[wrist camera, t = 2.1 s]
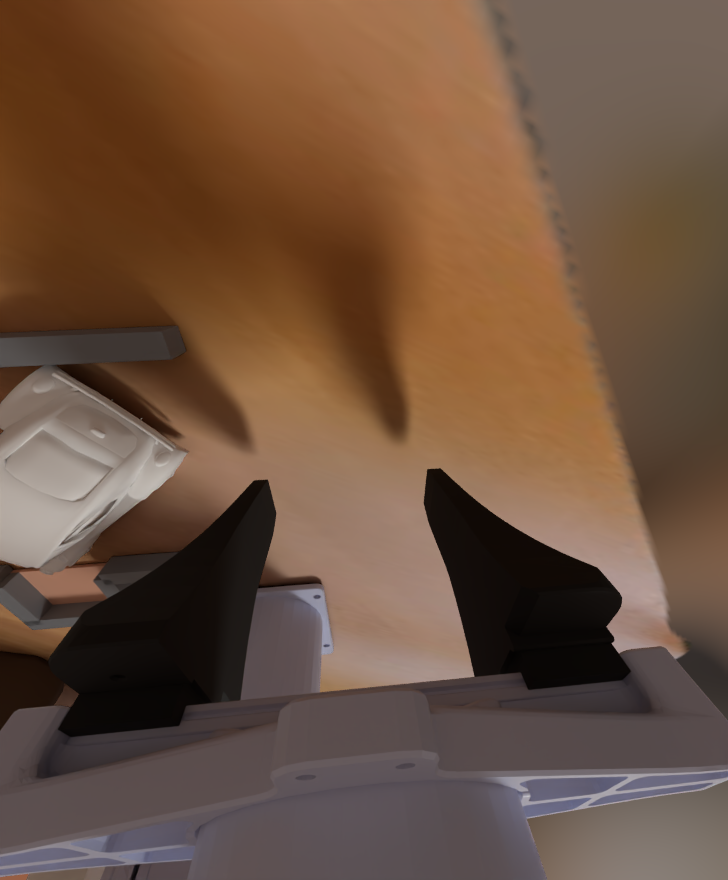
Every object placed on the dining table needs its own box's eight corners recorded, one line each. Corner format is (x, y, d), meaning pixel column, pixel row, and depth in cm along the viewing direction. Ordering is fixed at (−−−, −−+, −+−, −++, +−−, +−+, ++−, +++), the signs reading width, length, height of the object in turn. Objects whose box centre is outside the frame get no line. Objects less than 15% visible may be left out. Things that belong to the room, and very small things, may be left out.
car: (68, 345, 12) (-72, 385, 8) (205, 440, 14) (153, 505, 10) (-32, 503, 15) (-163, 586, 11) (93, 555, 18) (22, 638, 14)
